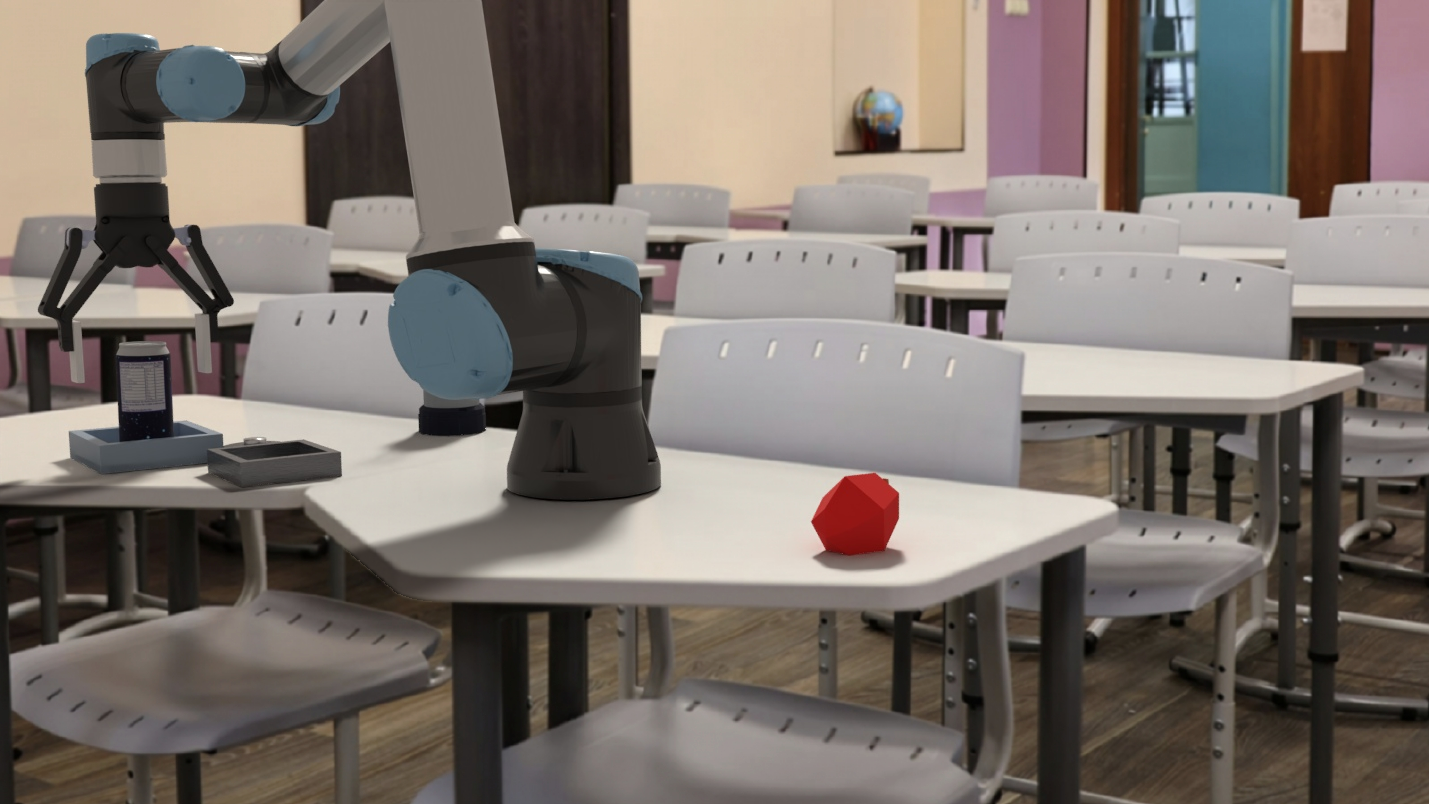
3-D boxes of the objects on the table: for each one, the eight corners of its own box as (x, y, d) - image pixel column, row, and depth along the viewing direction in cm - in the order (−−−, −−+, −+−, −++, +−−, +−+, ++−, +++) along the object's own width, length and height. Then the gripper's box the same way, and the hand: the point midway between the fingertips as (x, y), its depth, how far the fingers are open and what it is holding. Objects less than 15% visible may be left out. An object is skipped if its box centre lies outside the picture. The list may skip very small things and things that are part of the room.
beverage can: (185, 450, 180) (181, 342, 178) (144, 457, 175) (139, 346, 173) (150, 446, 182) (145, 339, 181) (108, 453, 177) (103, 344, 176)
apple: (836, 497, 126) (903, 449, 130) (783, 500, 131) (848, 454, 136) (871, 574, 127) (935, 524, 132) (817, 574, 133) (880, 526, 137)
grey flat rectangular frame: (341, 475, 167) (340, 450, 167) (241, 487, 161) (240, 461, 161) (282, 454, 181) (281, 431, 181) (188, 464, 175) (187, 440, 175)
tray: (224, 461, 177) (222, 433, 177) (101, 474, 170) (99, 445, 169) (187, 445, 188) (186, 420, 187) (70, 457, 180) (68, 431, 180)
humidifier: (464, 423, 203) (458, 223, 200) (498, 431, 197) (493, 223, 193) (406, 430, 198) (398, 224, 195) (439, 438, 192) (432, 225, 188)
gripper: (233, 180, 185) (243, 365, 187) (-1, 182, 171) (13, 383, 173) (256, 179, 179) (266, 371, 181) (15, 181, 164) (29, 389, 167)
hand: (142, 377), depth 177 cm, fingers open, 13 cm apart
